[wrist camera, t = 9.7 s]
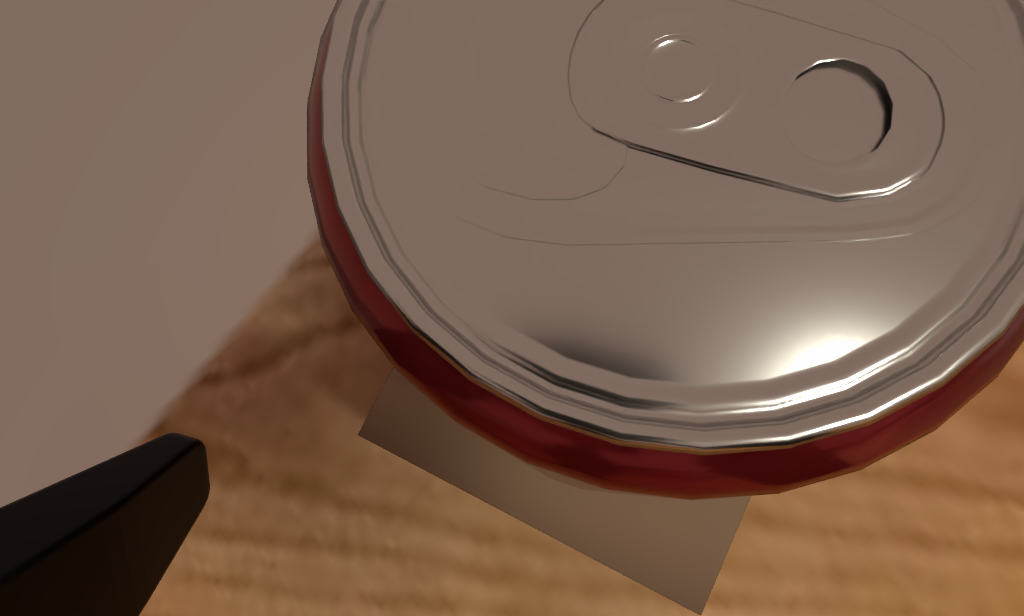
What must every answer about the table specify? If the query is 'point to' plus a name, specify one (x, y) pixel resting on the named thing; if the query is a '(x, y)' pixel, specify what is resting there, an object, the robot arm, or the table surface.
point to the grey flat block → (565, 500)
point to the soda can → (679, 224)
